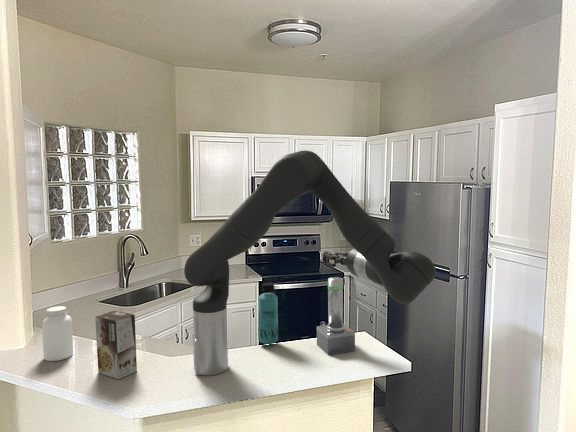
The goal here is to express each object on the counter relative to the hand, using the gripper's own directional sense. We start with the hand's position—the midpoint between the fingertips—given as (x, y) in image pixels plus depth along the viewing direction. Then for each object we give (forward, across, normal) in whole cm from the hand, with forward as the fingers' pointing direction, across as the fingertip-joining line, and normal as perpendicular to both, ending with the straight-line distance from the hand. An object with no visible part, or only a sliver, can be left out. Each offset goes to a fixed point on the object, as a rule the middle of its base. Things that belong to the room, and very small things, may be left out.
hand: (339, 254), depth 114 cm
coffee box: (+19, +59, +32) cm, 70 cm away
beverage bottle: (+24, +14, +32) cm, 43 cm away
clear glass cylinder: (+14, -5, +26) cm, 30 cm away
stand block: (+14, -5, +32) cm, 35 cm away
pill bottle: (+37, +77, +32) cm, 91 cm away
